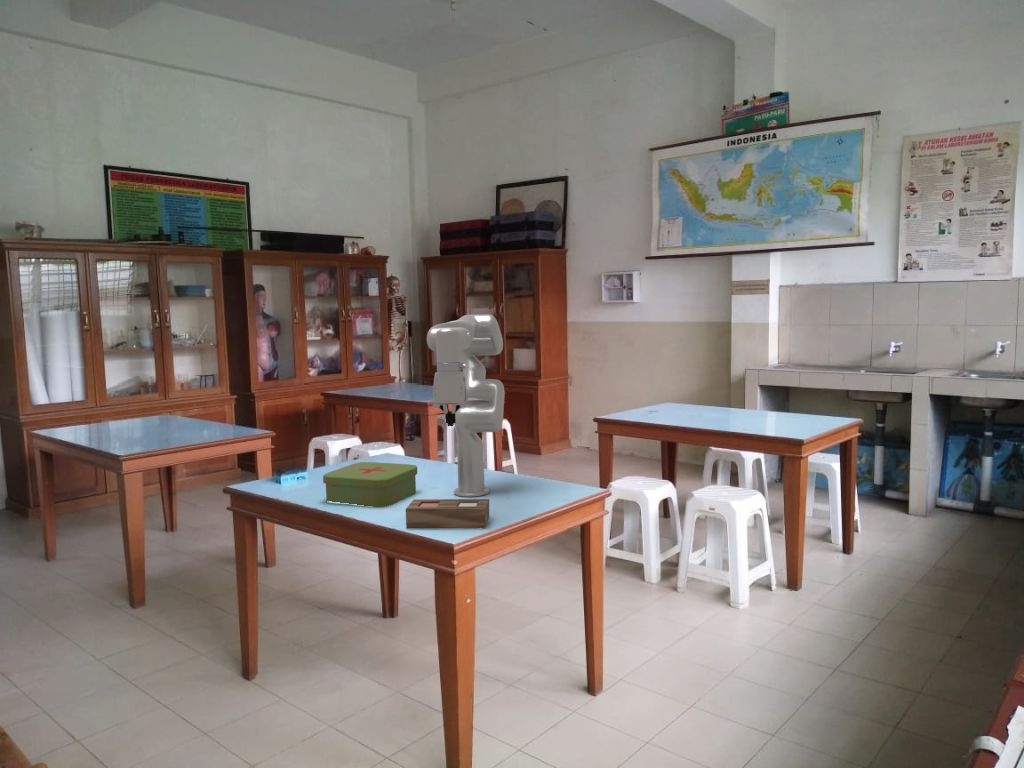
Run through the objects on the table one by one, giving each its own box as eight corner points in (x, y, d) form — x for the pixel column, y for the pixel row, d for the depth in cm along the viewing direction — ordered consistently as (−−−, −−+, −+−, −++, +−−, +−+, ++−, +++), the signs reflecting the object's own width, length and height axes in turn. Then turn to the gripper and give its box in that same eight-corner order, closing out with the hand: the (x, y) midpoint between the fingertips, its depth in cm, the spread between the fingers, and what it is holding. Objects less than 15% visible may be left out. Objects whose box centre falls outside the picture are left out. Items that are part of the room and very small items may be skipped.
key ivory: (460, 517, 236) (460, 503, 236) (477, 517, 236) (477, 503, 235) (458, 522, 231) (457, 507, 230) (475, 522, 230) (475, 507, 230)
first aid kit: (360, 487, 287) (359, 461, 286) (422, 491, 278) (421, 464, 277) (319, 503, 263) (318, 475, 262) (385, 509, 253) (384, 480, 252)
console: (414, 517, 241) (413, 499, 240) (489, 517, 239) (489, 499, 238) (406, 528, 229) (405, 509, 228) (485, 528, 227) (484, 508, 226)
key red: (422, 517, 237) (422, 503, 237) (439, 517, 237) (439, 503, 236) (419, 522, 232) (418, 507, 231) (436, 522, 231) (436, 507, 231)
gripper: (473, 366, 241) (475, 423, 243) (427, 367, 243) (429, 424, 244) (470, 368, 234) (472, 427, 236) (423, 369, 235) (425, 427, 237)
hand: (450, 425), depth 240 cm, fingers closed
